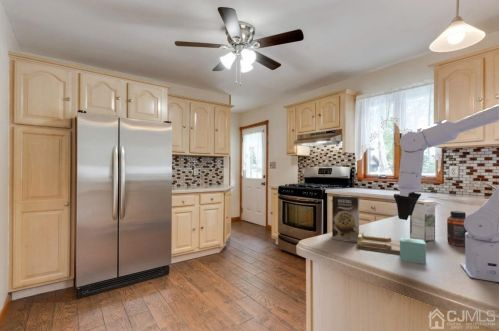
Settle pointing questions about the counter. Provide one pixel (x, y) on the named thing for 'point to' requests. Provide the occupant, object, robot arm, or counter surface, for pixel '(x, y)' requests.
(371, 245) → the slide board
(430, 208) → the syrup box
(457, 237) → the supplement bottle
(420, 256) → the teal block
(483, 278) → the robot arm
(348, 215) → the cookie box
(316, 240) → the counter surface
